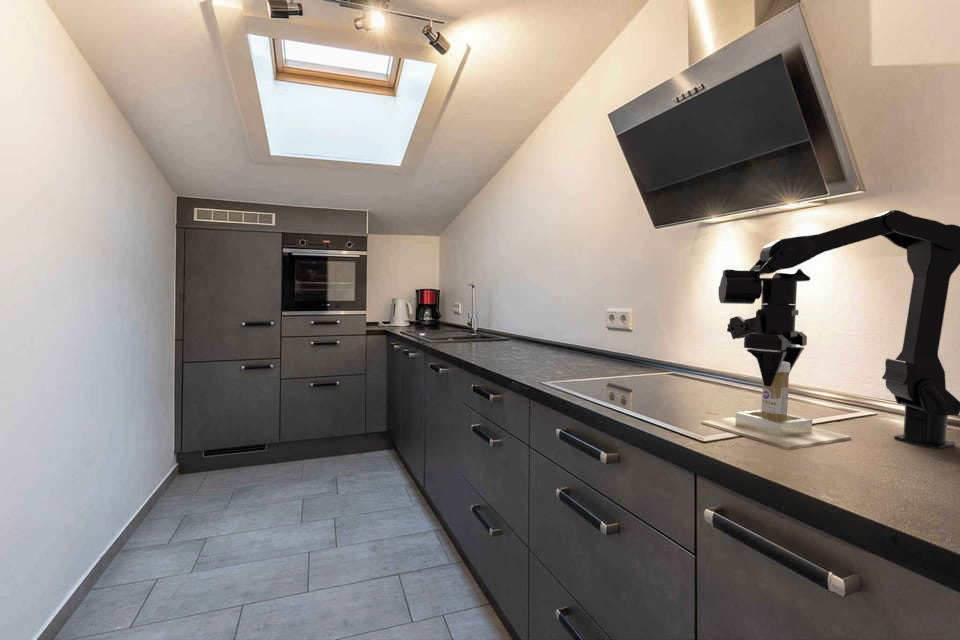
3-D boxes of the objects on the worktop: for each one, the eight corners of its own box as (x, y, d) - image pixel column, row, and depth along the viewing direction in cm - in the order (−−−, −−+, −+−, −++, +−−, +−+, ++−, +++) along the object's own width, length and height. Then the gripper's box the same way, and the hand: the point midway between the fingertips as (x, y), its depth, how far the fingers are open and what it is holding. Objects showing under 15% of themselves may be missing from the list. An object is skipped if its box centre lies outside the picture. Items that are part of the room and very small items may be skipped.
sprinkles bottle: (754, 426, 92) (757, 360, 92) (769, 424, 94) (772, 359, 94) (777, 432, 88) (781, 363, 88) (792, 430, 90) (795, 362, 90)
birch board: (760, 416, 103) (760, 414, 103) (851, 439, 87) (851, 436, 87) (701, 423, 96) (701, 421, 96) (787, 449, 80) (788, 446, 80)
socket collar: (766, 420, 97) (766, 409, 97) (811, 432, 89) (812, 419, 89) (735, 424, 94) (735, 412, 94) (779, 437, 85) (780, 423, 85)
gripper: (749, 304, 103) (746, 373, 103) (716, 303, 90) (713, 382, 91) (809, 305, 94) (805, 380, 95) (782, 304, 82) (778, 391, 82)
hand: (774, 383), depth 91 cm, fingers open, 9 cm apart
